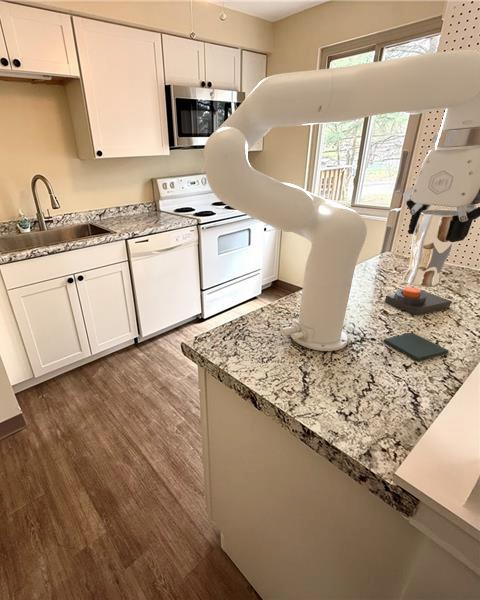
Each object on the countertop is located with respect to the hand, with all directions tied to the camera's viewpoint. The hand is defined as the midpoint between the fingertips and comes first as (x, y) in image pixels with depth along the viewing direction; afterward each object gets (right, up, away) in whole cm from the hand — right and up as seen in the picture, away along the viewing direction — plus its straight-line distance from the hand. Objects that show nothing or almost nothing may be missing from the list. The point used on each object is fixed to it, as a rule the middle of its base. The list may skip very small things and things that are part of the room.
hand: (434, 236), depth 63 cm
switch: (+13, -12, +21) cm, 28 cm away
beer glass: (+1, -9, +4) cm, 10 cm away
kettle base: (+17, -15, +23) cm, 32 cm away
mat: (+2, -24, +7) cm, 25 cm away
